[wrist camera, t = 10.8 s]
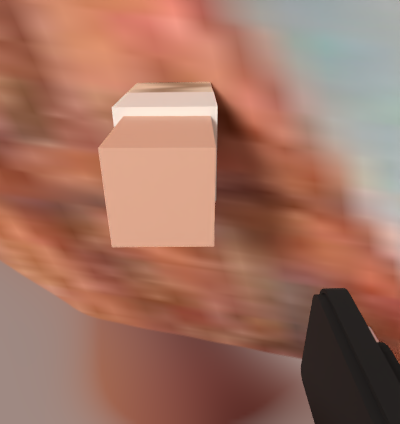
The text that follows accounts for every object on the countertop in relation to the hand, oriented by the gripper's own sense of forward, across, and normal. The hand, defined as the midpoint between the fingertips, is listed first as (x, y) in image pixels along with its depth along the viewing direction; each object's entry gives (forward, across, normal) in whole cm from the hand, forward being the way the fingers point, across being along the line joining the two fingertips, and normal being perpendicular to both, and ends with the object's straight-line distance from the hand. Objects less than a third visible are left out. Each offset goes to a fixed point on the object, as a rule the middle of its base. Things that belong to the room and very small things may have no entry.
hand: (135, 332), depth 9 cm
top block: (+14, 0, 0) cm, 14 cm away
